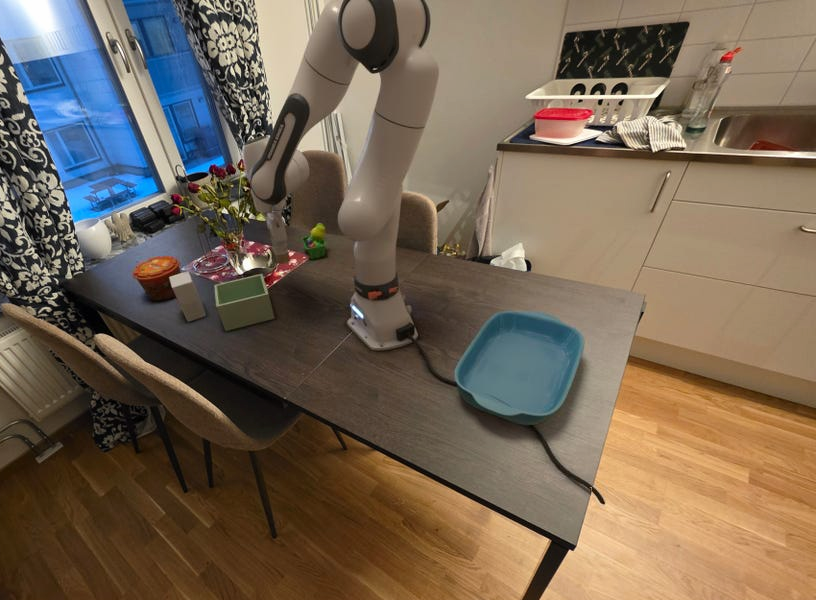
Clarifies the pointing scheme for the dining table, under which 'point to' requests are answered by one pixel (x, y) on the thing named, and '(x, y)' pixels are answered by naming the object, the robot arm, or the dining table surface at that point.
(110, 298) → the dining table surface
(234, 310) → the bin
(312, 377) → the dining table surface
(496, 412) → the casserole dish
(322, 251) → the fruit basket
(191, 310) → the small box
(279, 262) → the sprinkles bottle
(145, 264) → the food container
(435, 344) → the dining table surface
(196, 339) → the dining table surface
